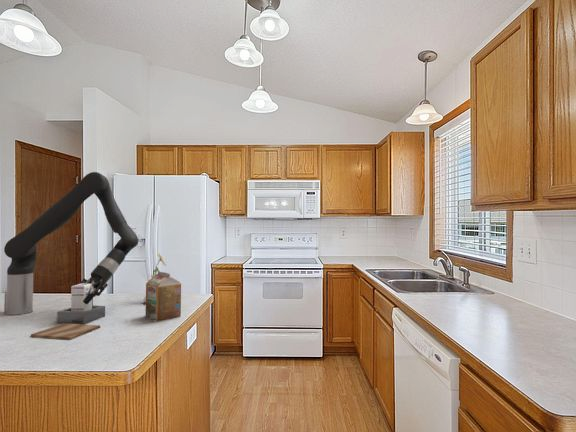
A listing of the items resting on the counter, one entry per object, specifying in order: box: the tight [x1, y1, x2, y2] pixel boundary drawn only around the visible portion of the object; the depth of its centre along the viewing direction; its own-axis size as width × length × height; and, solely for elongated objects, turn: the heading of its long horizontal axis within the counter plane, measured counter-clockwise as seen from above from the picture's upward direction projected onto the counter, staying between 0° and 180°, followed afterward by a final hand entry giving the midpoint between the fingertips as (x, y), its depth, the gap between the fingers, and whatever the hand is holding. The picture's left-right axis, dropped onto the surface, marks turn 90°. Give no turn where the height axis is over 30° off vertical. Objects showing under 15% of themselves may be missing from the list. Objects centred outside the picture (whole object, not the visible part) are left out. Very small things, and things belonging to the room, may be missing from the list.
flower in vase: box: [142, 252, 167, 303], centre depth 173 cm, size 13×11×25 cm
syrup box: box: [70, 283, 94, 312], centre depth 140 cm, size 6×6×14 cm
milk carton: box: [145, 270, 182, 323], centre depth 146 cm, size 11×11×19 cm
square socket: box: [56, 304, 106, 325], centre depth 140 cm, size 12×12×4 cm
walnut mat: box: [30, 323, 101, 341], centre depth 124 cm, size 16×14×1 cm
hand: (78, 301), depth 139 cm, fingers closed on syrup box, 7 cm apart
